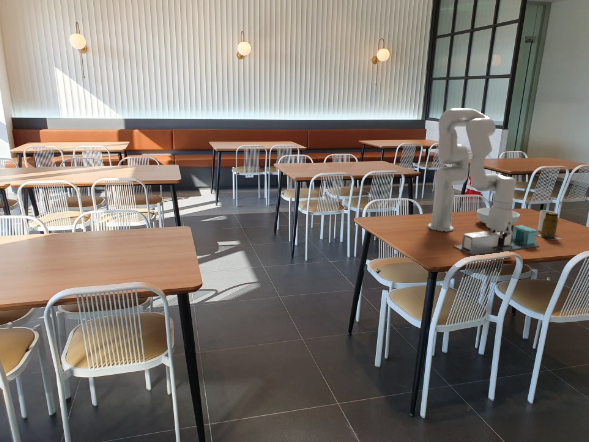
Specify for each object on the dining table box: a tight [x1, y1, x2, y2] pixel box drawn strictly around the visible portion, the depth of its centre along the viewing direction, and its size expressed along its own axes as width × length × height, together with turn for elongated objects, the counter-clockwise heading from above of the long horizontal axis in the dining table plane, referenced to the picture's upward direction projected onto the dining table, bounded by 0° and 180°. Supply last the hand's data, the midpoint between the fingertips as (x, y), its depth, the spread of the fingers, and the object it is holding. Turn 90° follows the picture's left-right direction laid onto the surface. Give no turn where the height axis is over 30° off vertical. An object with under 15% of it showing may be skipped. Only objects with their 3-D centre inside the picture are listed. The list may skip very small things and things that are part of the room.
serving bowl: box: [476, 207, 521, 226], centre depth 232 cm, size 21×21×7 cm
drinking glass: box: [537, 209, 556, 232], centre depth 223 cm, size 7×7×10 cm
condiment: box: [537, 211, 562, 241], centre depth 212 cm, size 7×8×12 cm
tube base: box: [452, 224, 540, 256], centre depth 197 cm, size 39×12×7 cm, turn 111°
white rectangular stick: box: [464, 231, 513, 250], centre depth 195 cm, size 24×4×5 cm, turn 111°
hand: (496, 243), depth 197 cm, fingers closed on white rectangular stick, 4 cm apart
